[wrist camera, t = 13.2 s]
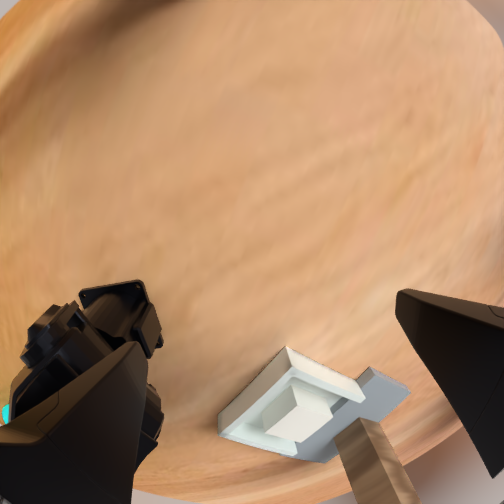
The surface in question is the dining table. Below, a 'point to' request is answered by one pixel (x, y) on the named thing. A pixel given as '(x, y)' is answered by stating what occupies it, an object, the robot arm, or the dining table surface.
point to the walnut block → (373, 465)
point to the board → (353, 414)
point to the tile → (296, 414)
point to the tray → (273, 385)
